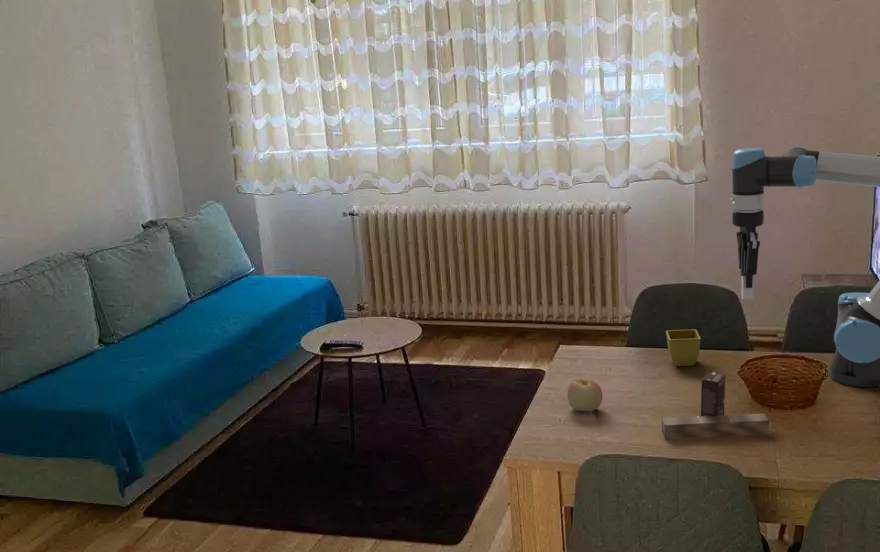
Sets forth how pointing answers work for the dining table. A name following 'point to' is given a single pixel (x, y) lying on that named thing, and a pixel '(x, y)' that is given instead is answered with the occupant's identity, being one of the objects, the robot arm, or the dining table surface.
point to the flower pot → (683, 346)
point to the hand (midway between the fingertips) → (747, 298)
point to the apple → (584, 395)
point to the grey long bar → (715, 426)
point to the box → (713, 394)
